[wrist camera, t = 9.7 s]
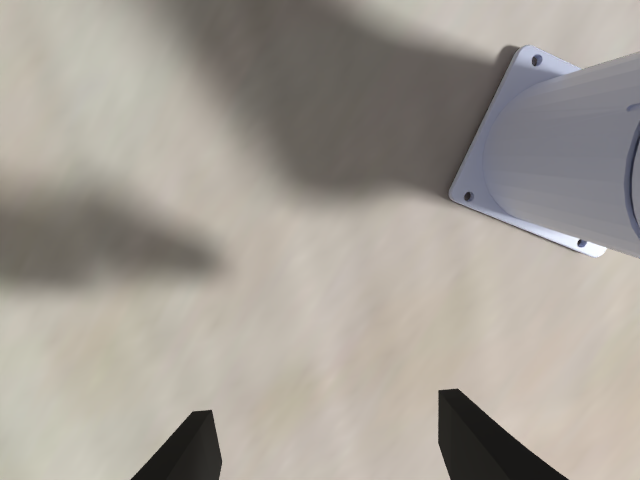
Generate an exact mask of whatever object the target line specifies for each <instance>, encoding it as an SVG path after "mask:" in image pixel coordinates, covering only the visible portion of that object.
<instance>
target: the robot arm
mask: <svg viewBox="0 0 640 480" xmlns="http://www.w3.org/2000/svg"><path fill="white" fill-rule="evenodd" d="M533 57H535V58H536V59H537V65H536V66H534V65H532V62H531V61H532V58H533ZM467 192H470V194H471V196H470V199H469V200H467V201H465V199H464V195H465V194H466V193H467ZM449 197H450V199H451V200H452V201H454V202H457V203H459V204H462V205H464V206H467V207H469V208H471V209H474V210H476V211H479V212H481V213H484V214H486V215H489V216H491V217H494V218H496V219H499V220H501V221H504V222H506V223H509V224H511V225H514V226H516V227H518V228H521V229H523V230H526V231H528V232H531V233H533V234H536V235H538V236H541V237H543V238H546V239H548V240H551V241H553V242H556V243H558V244H560V245H563V246H565V247H568V248H570V249H573V250H575V251H578V252H580V253H583V254H585V255H588V256H590V257H594V258H596V257H599V256H601V255H602V254H603V253H604V252H605V250H606V249H607V248H609V249H612V250H615V251H618V252H621V253H624V254H627V255H630V256H633V257H636V258H639V259H640V52H636V53H633V54H630V55H627V56H623V57H620V58H617V59H614V60H610V61H607V62H604V63H601V64H598V65H594V66H591V67H588V68H585V69H581V68H579V67H577V66H575V65H573V64H571V63H568V62H566V61H564V60H562V59H560V58H558V57H556V56H554V55H552V54H549V53H547V52H545V51H543V50H541V49H539V48H537V47H535V46H532V45H525V46H523V47H521V48H520V49H518V50H517V51H516V53H515V54H514V56H513V58H512V60H511V62H510V65H509V67H508V69H507V71H506V73H505V75H504V77H503V79H502V81H501V83H500V85H499V87H498V89H497V92H496V94H495V96H494V98H493V100H492V102H491V104H490V106H489V108H488V110H487V112H486V114H485V116H484V119H483V121H482V123H481V125H480V127H479V129H478V131H477V133H476V135H475V137H474V139H473V141H472V144H471V146H470V148H469V150H468V152H467V154H466V156H465V158H464V160H463V162H462V164H461V166H460V168H459V171H458V173H457V175H456V177H455V179H454V181H453V183H452V185H451V187H450V189H449ZM580 239H581V243H580V244H579V245H577V243H578V241H579V240H580ZM438 443H439V446H440V450H441V453H442V456H443V459H444V462H445V465H446V467H447V470H448V473H449V476H450V479H451V480H569V479H567V478H566V477H564V476H563V475H562V474H560V473H559V472H557V471H556V470H555V469H553V468H552V467H551V466H549V465H548V464H547V463H545V462H544V461H543V460H541V459H540V458H539V457H538V456H536V455H535V454H534V453H532V452H531V451H530V450H528V449H527V448H526V447H525V446H523V445H522V444H521V443H520V442H519V441H517V440H516V439H515V438H514V437H513V436H511V435H510V434H509V433H508V432H507V431H505V430H504V429H503V428H502V427H501V426H500V425H498V424H497V423H496V422H495V421H494V420H493V419H491V418H490V417H489V416H488V415H487V414H486V413H485V412H484V411H482V410H481V409H480V408H479V407H478V406H477V405H476V404H475V403H473V402H472V401H471V400H470V399H469V398H468V397H467V396H466V395H464V394H463V393H462V392H461V391H460V390H459V389H449V390H439V421H438ZM221 466H222V458H221V453H220V448H219V443H218V438H217V433H216V428H215V423H214V418H213V413H212V410H206V411H194V412H192V413H191V414H190V415H189V416H188V417H187V418H186V420H185V421H184V422H183V423H182V424H181V425H180V426H179V427H178V428H177V430H176V431H175V432H174V433H173V434H172V435H171V436H170V437H169V439H168V440H167V441H166V442H165V443H164V444H163V445H162V446H161V448H160V449H159V450H158V451H157V452H156V453H155V454H154V455H153V456H152V457H151V458H150V460H149V461H148V462H147V463H146V464H145V465H144V466H143V467H142V468H141V469H140V470H139V471H138V473H137V474H136V475H135V476H134V477H133V478H132V479H131V480H219V476H220V471H221Z"/></svg>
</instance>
